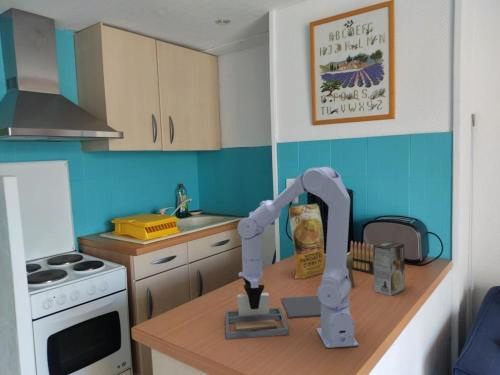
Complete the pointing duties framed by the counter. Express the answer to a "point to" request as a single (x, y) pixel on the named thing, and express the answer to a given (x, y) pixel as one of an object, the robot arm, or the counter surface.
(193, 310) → the counter surface
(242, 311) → the gray rectangular block
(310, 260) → the pancake mix bag
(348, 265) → the olive pawn
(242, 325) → the offcut stack
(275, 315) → the rack
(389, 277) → the coffee box
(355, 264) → the ammunition clip
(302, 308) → the mat
